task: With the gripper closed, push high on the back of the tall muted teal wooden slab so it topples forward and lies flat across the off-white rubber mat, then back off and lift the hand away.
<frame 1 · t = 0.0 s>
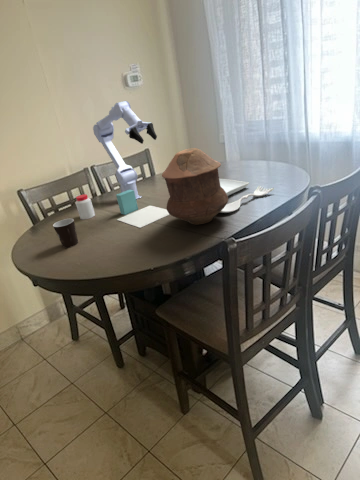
hand: (149, 140, 159), 32 cm above the table, tool tilted 50°, fingers open, 7 cm apart
pottery vessel: (200, 221, 146), on the table
pill bottle: (87, 216, 178), on the table
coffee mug: (70, 246, 146), on the table
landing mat: (145, 216, 163), on the table
spoon: (244, 204, 157), on the table
square plate: (212, 194, 177), on the table
teal slab: (129, 211, 173), on the table
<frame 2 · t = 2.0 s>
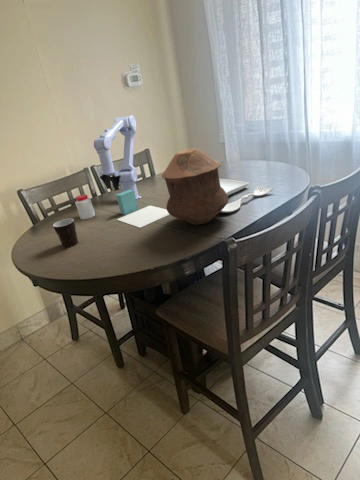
hand: (112, 189, 176), 11 cm above the table, tool pointing down, fingers open, 7 cm apart
nothing on the table moved.
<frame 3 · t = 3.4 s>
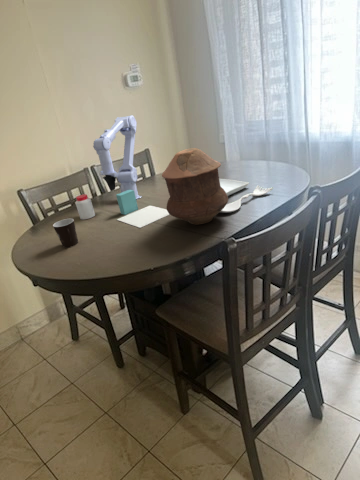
hand: (112, 189, 177), 10 cm above the table, tool pointing down, fingers closed
nothing on the table moved.
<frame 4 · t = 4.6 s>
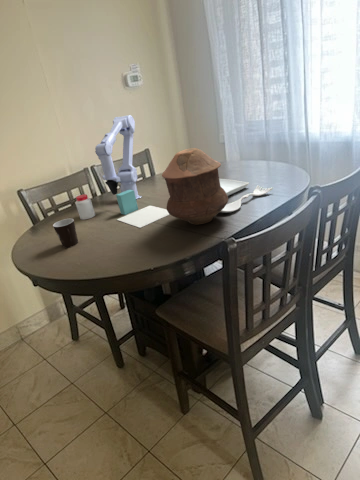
hand: (115, 193, 178), 8 cm above the table, tool pointing down, fingers closed
nothing on the table moved.
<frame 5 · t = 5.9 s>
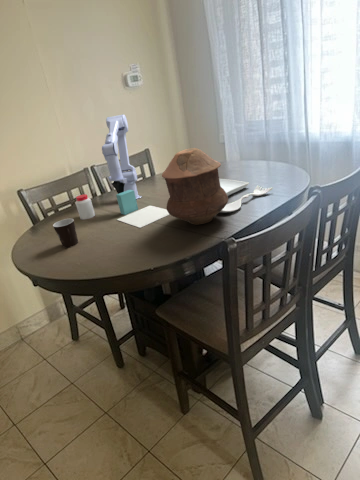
hand: (121, 195, 173), 8 cm above the table, tool pointing down, fingers closed
nothing on the table moved.
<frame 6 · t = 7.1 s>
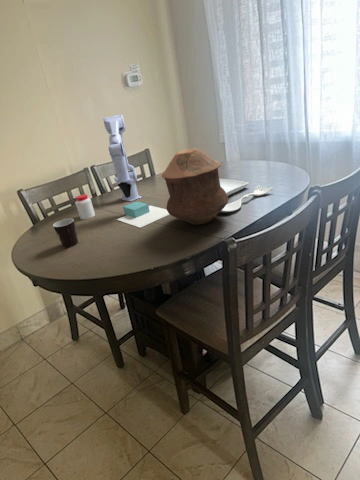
hand: (128, 197, 169), 8 cm above the table, tool pointing down, fingers closed
teal slab: (130, 207, 171), point 2 cm above the table, tilted 90°, touching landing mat
everything else where it was.
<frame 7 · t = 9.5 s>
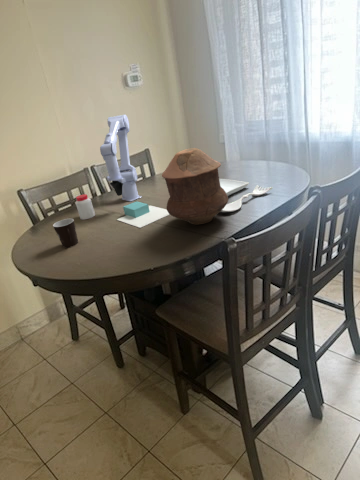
hand: (119, 195, 174), 8 cm above the table, tool pointing down, fingers closed
nothing on the table moved.
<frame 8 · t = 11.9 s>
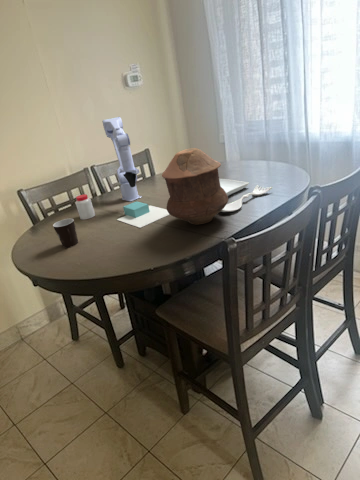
hand: (133, 186, 175), 10 cm above the table, tool pointing down, fingers closed
at the end: teal slab tilted 90°; teal slab inside the target area (2.1 cm from its centre), point 2.3 cm above the table; the gripper is holding nothing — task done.
